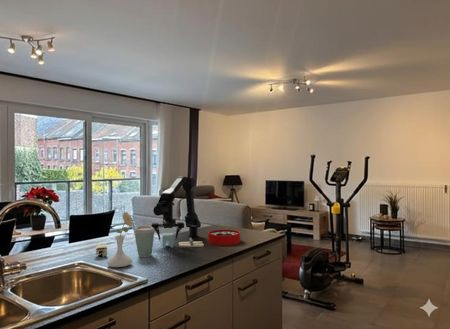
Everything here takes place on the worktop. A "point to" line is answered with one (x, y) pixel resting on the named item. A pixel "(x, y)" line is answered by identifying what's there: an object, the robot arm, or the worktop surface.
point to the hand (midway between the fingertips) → (167, 240)
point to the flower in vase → (120, 257)
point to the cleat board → (191, 243)
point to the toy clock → (224, 237)
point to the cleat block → (167, 239)
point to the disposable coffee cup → (144, 240)
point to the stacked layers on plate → (101, 250)
